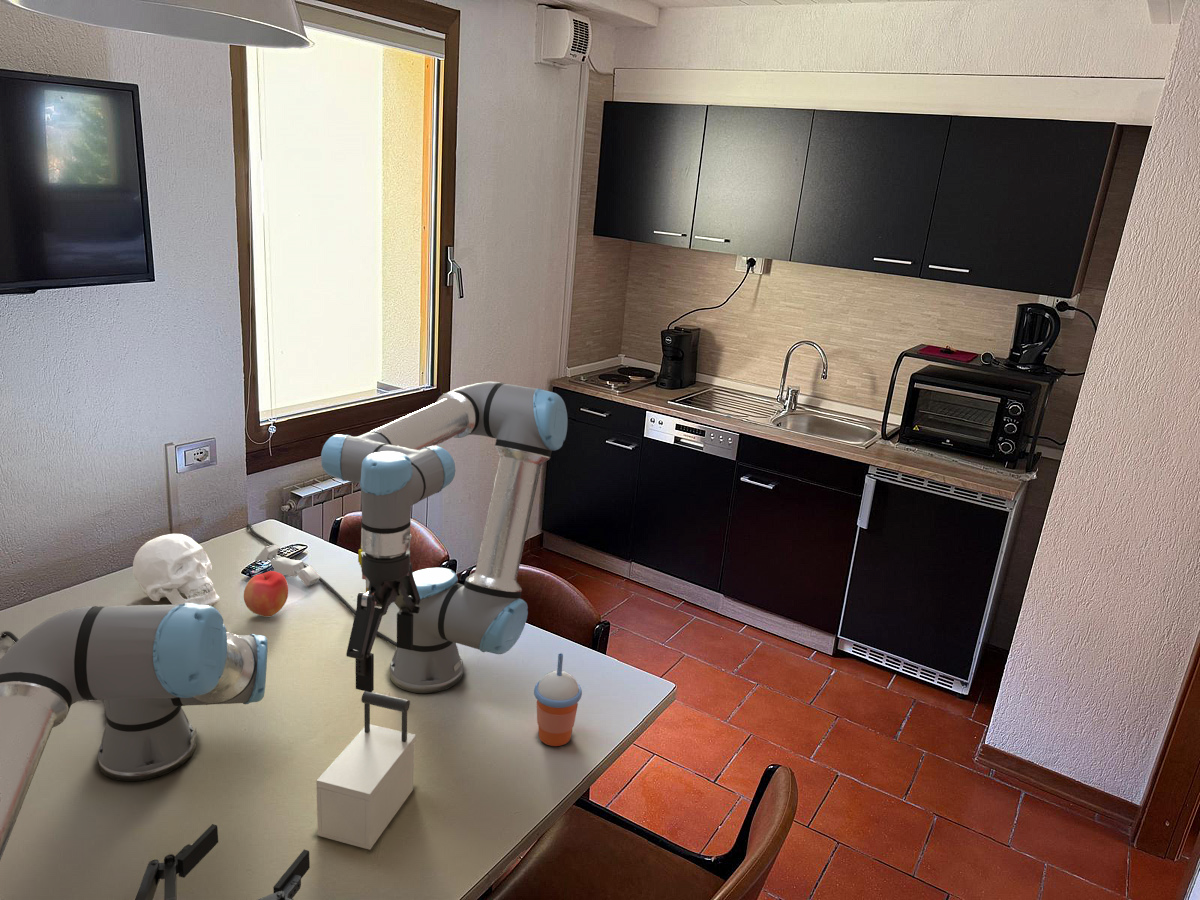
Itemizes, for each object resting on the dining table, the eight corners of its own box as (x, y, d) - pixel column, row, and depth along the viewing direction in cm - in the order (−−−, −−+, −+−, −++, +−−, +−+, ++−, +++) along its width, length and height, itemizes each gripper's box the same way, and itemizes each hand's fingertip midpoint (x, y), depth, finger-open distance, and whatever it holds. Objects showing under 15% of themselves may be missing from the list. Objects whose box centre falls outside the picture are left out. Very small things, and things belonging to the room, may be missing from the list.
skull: (198, 620, 196) (196, 556, 191) (121, 600, 201) (117, 538, 197) (238, 597, 208) (236, 536, 204) (164, 579, 214) (161, 520, 209)
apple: (273, 600, 207) (272, 562, 204) (297, 613, 202) (296, 575, 199) (237, 614, 200) (234, 575, 197) (261, 628, 194) (259, 588, 191)
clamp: (253, 565, 223) (254, 542, 221) (265, 560, 226) (266, 537, 224) (309, 593, 215) (310, 569, 213) (320, 588, 218) (321, 564, 216)
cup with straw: (572, 755, 160) (578, 671, 155) (525, 746, 161) (530, 662, 156) (582, 727, 168) (589, 646, 163) (538, 718, 170) (543, 638, 165)
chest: (365, 776, 150) (365, 732, 147) (413, 789, 148) (414, 743, 145) (317, 835, 136) (316, 787, 134) (370, 850, 134) (369, 801, 131)
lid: (367, 729, 148) (367, 683, 146) (416, 741, 146) (417, 694, 144) (316, 787, 133) (315, 737, 131) (369, 801, 131) (369, 750, 129)
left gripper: (46, 977, 96) (180, 845, 115) (240, 1043, 90) (346, 893, 110) (38, 924, 93) (176, 799, 113) (237, 989, 88) (346, 845, 108)
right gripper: (367, 587, 122) (368, 714, 129) (441, 525, 145) (438, 636, 152) (320, 577, 124) (323, 704, 130) (401, 518, 147) (400, 628, 153)
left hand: (260, 845), depth 112 cm, fingers open, 13 cm apart
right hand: (385, 667), depth 141 cm, fingers open, 13 cm apart
